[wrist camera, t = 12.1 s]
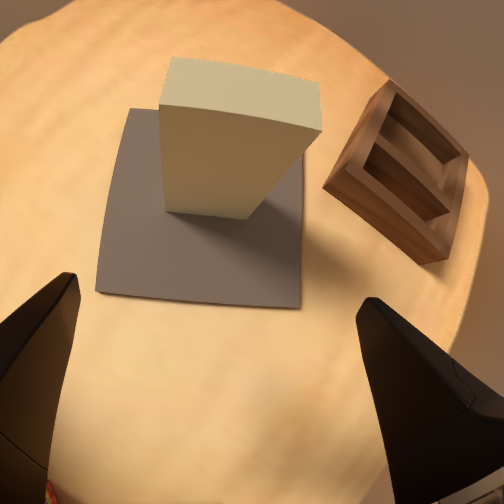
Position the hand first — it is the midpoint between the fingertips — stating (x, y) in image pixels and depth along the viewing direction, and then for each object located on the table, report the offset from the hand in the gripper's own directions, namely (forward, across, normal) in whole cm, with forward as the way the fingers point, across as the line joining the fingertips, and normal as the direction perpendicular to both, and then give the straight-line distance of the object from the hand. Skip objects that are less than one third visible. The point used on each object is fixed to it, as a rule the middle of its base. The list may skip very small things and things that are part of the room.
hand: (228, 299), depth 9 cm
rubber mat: (+15, 0, +4) cm, 16 cm away
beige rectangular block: (+15, 0, +4) cm, 15 cm away
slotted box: (+19, -18, 0) cm, 27 cm away
